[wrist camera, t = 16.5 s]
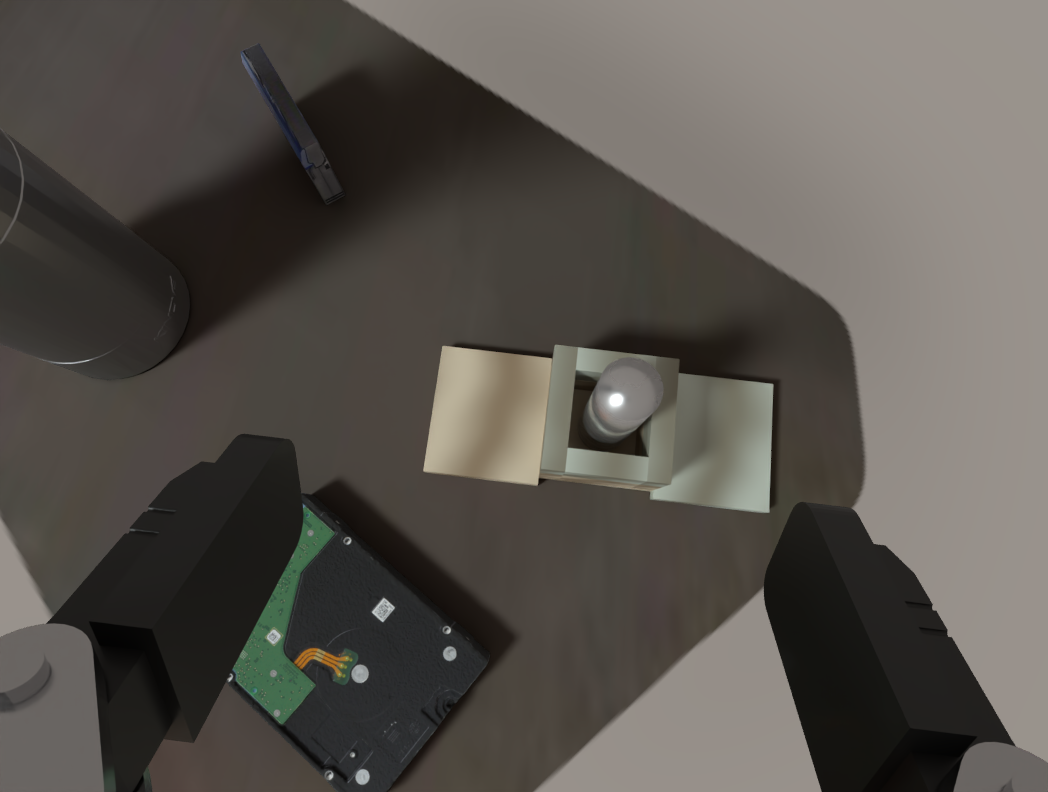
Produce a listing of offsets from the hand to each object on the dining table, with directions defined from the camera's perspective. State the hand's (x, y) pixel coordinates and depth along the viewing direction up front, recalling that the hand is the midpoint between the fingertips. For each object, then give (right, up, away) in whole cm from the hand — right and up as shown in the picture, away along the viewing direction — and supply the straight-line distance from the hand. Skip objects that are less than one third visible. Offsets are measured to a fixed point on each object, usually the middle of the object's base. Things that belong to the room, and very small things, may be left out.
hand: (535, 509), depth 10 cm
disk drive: (-11, -13, +27) cm, 32 cm away
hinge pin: (+5, 0, +28) cm, 29 cm away
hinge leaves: (+5, 0, +29) cm, 30 cm away
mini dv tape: (-15, +19, +34) cm, 42 cm away
